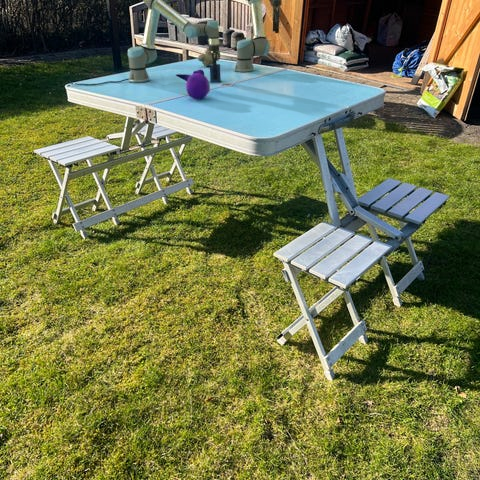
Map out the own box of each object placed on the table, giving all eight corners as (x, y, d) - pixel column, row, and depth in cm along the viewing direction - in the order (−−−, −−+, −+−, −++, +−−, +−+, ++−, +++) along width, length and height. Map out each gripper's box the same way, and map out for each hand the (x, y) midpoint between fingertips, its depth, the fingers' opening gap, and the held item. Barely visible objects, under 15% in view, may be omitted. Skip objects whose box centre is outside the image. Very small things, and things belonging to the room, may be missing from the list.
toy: (198, 91, 303) (209, 105, 283) (173, 86, 296) (182, 100, 275) (203, 67, 295) (215, 79, 275) (177, 62, 288) (187, 74, 267)
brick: (220, 80, 335) (219, 63, 329) (220, 82, 331) (220, 65, 325) (210, 81, 334) (209, 64, 328) (210, 82, 330) (209, 65, 324)
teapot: (201, 68, 381) (200, 49, 373) (195, 66, 389) (194, 48, 382) (223, 65, 390) (222, 47, 382) (217, 64, 399) (216, 45, 391)
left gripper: (208, 43, 327) (210, 76, 339) (208, 46, 312) (210, 81, 323) (218, 42, 328) (220, 76, 339) (219, 46, 312) (220, 81, 324)
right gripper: (269, -2, 329) (268, 30, 340) (273, 0, 307) (272, 34, 318) (279, -2, 329) (278, 30, 340) (284, 0, 308) (283, 33, 318)
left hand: (215, 78), depth 331 cm, fingers open, 5 cm apart
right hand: (275, 32), depth 329 cm, fingers open, 13 cm apart
